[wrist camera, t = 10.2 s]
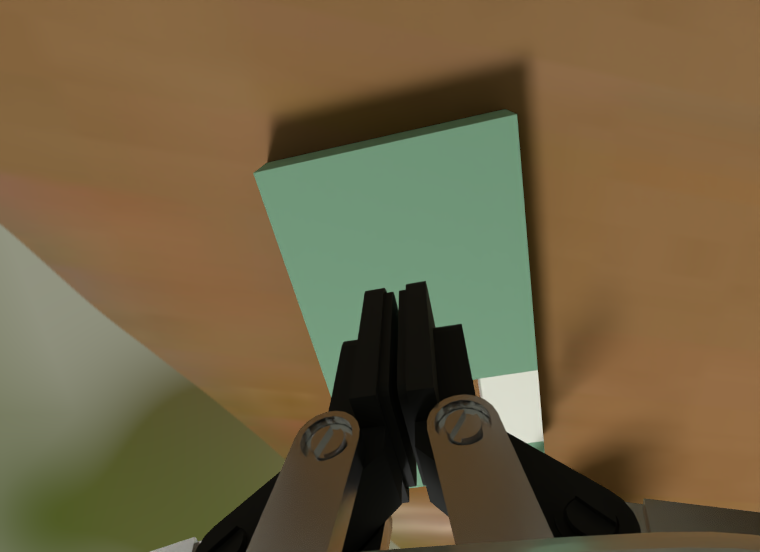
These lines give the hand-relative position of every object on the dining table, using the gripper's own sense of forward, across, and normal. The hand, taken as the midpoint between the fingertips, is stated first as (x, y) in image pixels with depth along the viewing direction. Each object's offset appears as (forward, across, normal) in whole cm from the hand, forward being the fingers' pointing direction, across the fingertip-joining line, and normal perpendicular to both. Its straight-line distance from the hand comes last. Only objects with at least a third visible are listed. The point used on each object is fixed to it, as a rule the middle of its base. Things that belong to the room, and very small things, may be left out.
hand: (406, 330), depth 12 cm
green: (+13, +1, +10) cm, 17 cm away
